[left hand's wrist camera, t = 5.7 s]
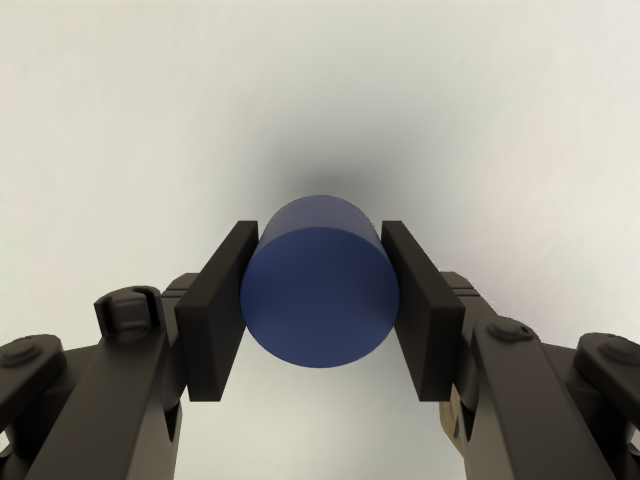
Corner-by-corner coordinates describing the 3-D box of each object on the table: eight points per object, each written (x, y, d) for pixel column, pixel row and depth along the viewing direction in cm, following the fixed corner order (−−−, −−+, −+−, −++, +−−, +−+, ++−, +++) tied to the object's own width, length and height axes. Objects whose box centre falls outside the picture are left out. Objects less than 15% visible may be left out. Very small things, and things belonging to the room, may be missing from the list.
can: (320, 168, 13) (320, 190, 9) (403, 253, 14) (433, 303, 11) (236, 253, 14) (205, 303, 11) (319, 324, 16) (319, 393, 12)
